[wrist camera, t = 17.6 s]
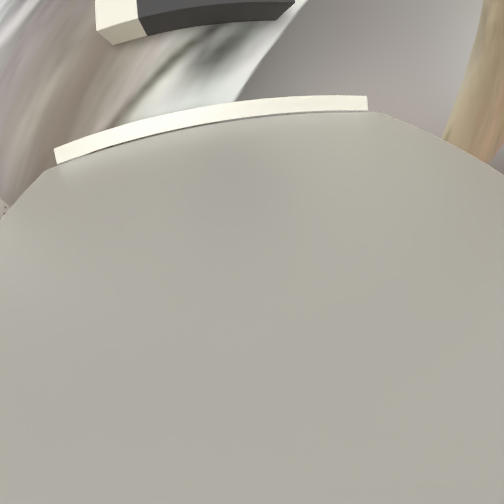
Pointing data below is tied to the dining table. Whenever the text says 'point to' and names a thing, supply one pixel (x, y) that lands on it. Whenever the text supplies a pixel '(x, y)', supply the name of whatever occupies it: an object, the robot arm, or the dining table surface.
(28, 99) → the dining table surface
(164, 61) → the dining table surface
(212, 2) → the dark gray block
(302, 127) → the plate
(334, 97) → the strip
